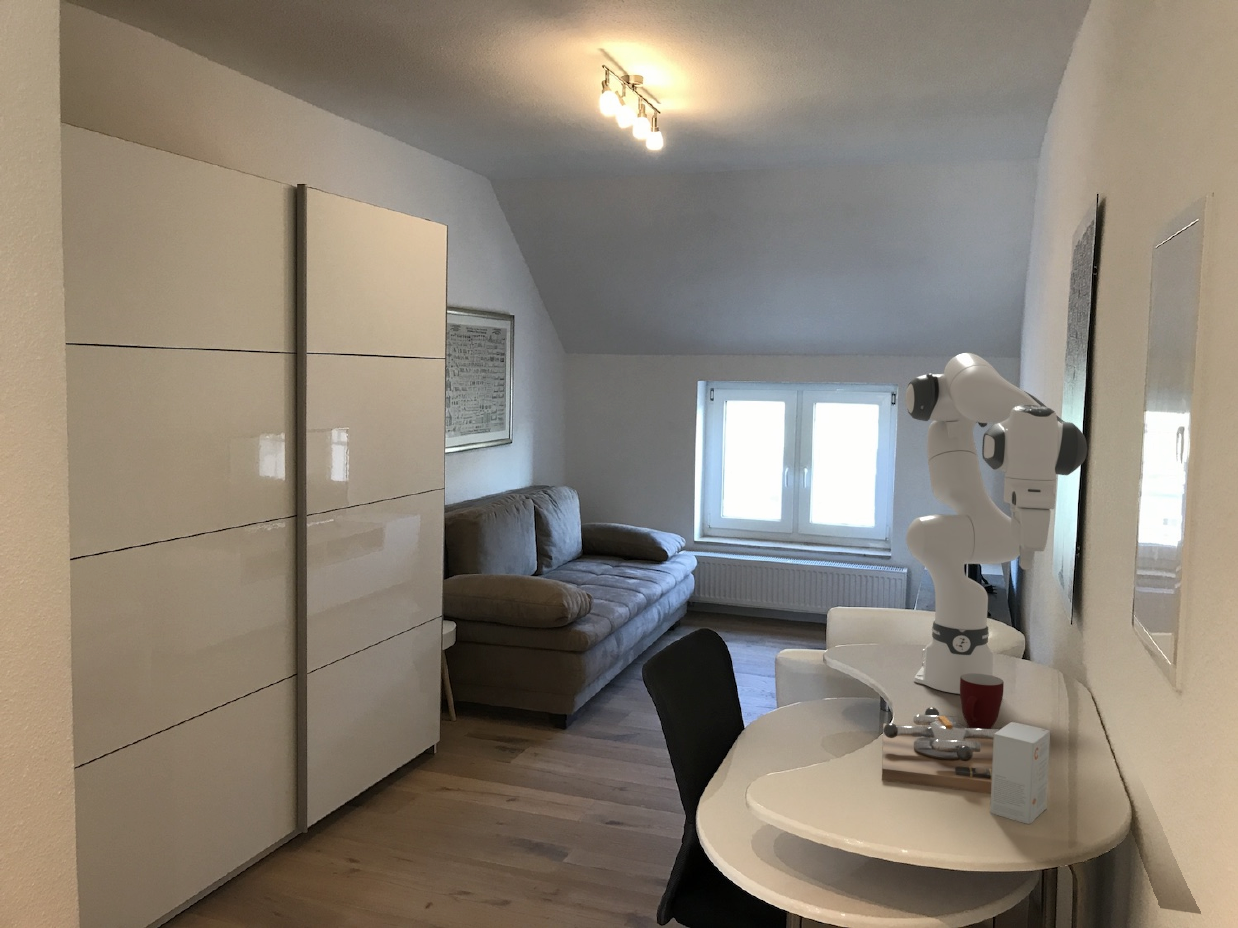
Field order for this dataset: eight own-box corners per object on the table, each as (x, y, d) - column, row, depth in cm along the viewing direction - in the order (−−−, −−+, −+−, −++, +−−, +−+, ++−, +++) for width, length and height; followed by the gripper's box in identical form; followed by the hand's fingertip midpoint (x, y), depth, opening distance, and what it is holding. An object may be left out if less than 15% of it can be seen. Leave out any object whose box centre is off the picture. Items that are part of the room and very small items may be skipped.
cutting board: (883, 733, 192) (883, 715, 192) (1003, 746, 186) (1004, 728, 186) (881, 779, 169) (882, 759, 169) (1019, 796, 163) (1021, 776, 163)
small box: (1006, 797, 163) (1011, 720, 162) (1047, 809, 159) (1051, 729, 158) (988, 813, 157) (992, 732, 156) (1029, 825, 153) (1034, 742, 152)
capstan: (989, 730, 188) (990, 705, 188) (1034, 777, 166) (1036, 748, 165) (869, 726, 189) (870, 701, 189) (898, 772, 167) (899, 743, 166)
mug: (993, 742, 188) (996, 691, 188) (950, 733, 193) (952, 683, 192) (1004, 727, 197) (1007, 677, 197) (963, 718, 202) (965, 670, 201)
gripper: (1004, 487, 193) (1001, 558, 194) (1017, 498, 173) (1013, 576, 174) (1039, 489, 191) (1035, 560, 192) (1056, 500, 172) (1052, 579, 173)
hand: (1025, 568), depth 183 cm, fingers closed
